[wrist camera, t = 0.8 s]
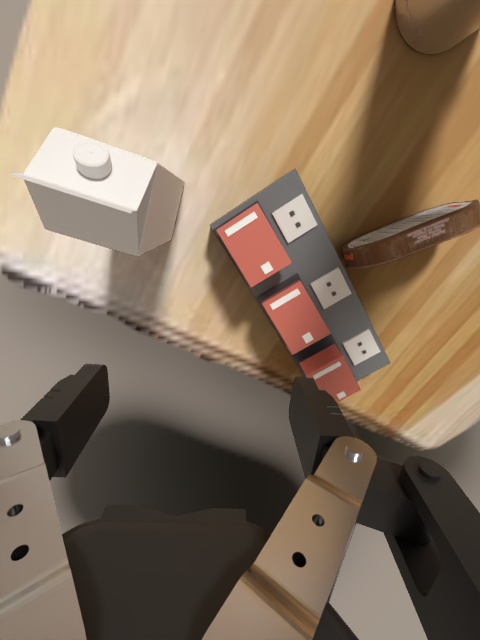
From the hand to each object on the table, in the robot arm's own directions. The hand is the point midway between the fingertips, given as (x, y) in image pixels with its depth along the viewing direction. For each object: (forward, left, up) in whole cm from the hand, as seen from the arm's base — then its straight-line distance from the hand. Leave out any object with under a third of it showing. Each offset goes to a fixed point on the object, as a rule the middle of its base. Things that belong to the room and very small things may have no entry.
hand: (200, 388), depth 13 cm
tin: (-21, +8, -28) cm, 36 cm away
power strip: (-8, +9, -28) cm, 30 cm away
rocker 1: (-5, -1, -22) cm, 23 cm away
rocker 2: (-5, +9, -22) cm, 24 cm away
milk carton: (+3, -11, -28) cm, 31 cm away
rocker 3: (-5, +18, -22) cm, 29 cm away
